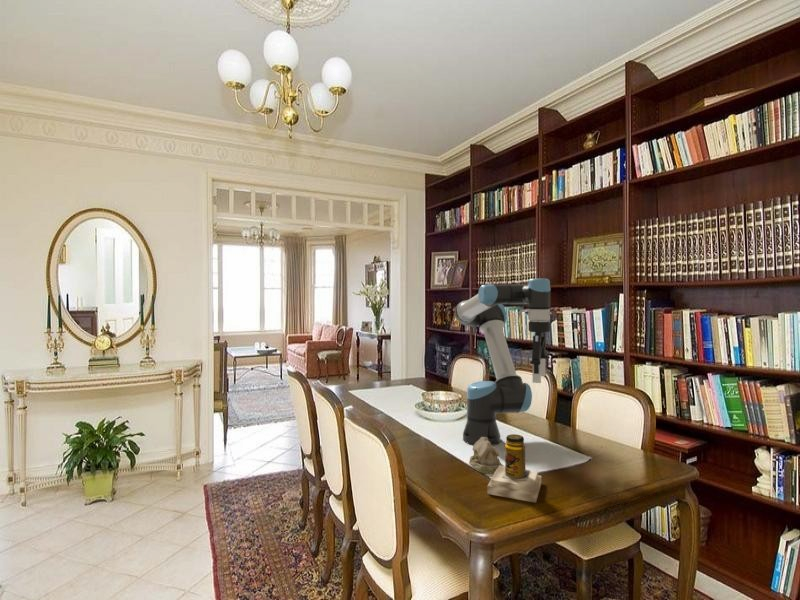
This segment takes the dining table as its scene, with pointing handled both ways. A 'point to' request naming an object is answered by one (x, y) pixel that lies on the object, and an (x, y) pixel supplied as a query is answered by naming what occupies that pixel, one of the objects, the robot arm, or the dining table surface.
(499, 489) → the plinth
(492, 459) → the ceramic model
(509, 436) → the condiment
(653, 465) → the dining table surface
